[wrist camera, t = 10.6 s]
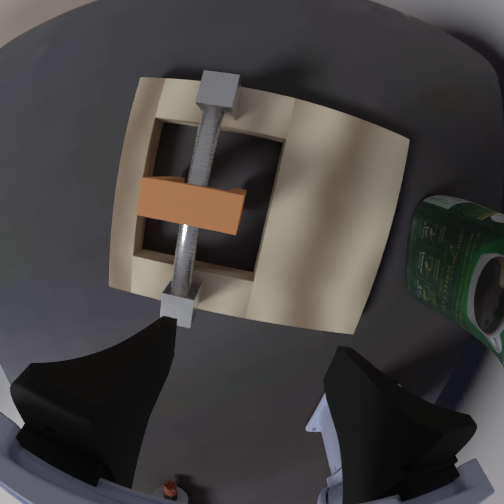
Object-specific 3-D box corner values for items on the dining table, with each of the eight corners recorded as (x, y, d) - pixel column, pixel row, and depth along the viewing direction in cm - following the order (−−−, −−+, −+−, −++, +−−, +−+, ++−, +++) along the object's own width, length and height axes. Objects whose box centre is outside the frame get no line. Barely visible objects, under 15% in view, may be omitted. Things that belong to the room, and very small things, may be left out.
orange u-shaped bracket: (246, 190, 19) (244, 195, 13) (240, 217, 19) (235, 235, 14) (173, 176, 19) (141, 176, 13) (168, 203, 19) (135, 214, 13)
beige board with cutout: (397, 141, 18) (409, 139, 16) (345, 322, 23) (353, 334, 21) (149, 85, 17) (140, 77, 15) (119, 277, 21) (108, 286, 19)
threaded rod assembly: (241, 93, 16) (239, 75, 12) (199, 302, 20) (190, 328, 16) (212, 89, 16) (203, 70, 12) (173, 297, 20) (159, 320, 16)
